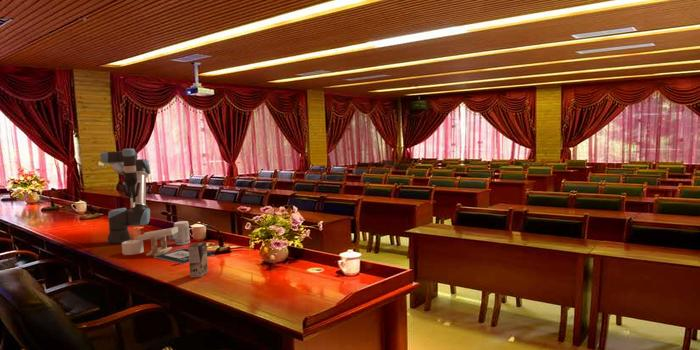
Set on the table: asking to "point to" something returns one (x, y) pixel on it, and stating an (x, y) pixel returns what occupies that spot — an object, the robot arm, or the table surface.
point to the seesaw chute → (160, 234)
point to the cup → (132, 247)
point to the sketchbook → (177, 256)
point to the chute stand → (159, 249)
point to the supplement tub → (182, 233)
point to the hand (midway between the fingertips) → (132, 207)
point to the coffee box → (198, 259)
